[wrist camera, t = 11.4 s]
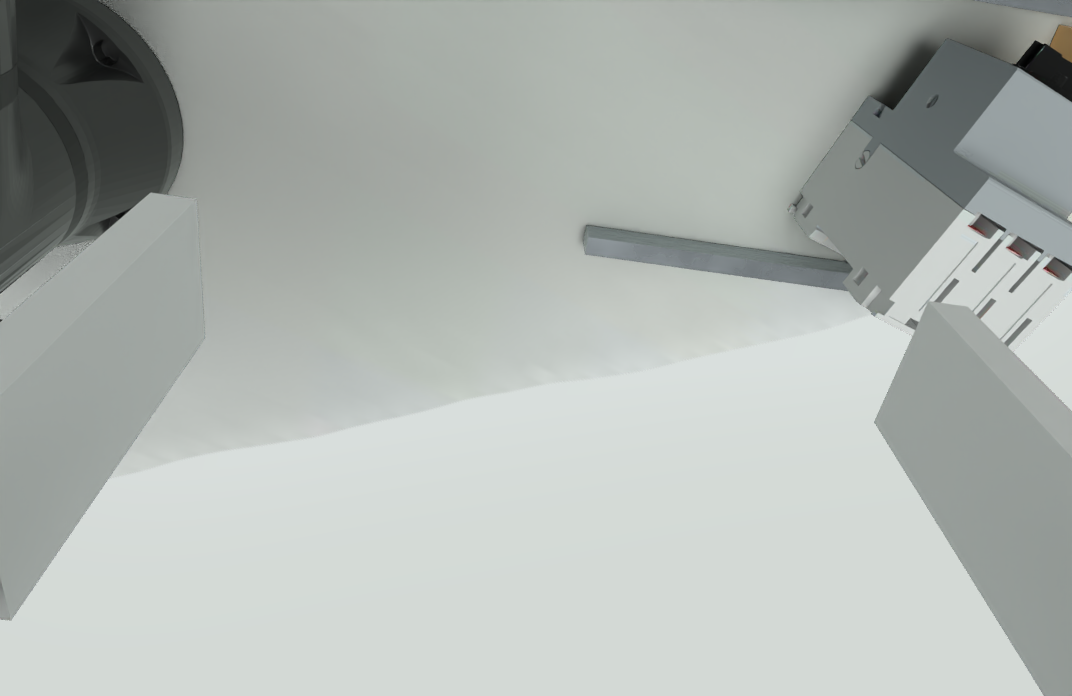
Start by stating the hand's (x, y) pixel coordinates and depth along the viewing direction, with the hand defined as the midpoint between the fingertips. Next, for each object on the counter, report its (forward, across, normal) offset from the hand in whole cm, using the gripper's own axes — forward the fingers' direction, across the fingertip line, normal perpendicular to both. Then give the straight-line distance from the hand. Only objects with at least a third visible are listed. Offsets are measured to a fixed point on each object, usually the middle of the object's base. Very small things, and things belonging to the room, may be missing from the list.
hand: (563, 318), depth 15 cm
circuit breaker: (+37, +24, -4) cm, 44 cm away
